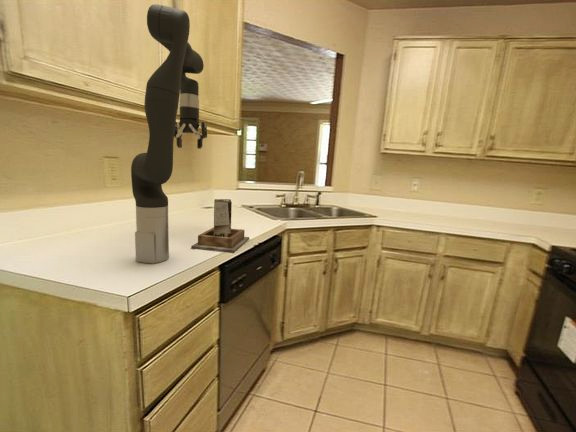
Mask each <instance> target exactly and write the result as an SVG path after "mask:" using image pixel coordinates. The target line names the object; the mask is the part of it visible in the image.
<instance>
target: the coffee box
mask: <svg viewBox="0 0 576 432" xmlns="http://www.w3.org/2000/svg"><path fill="white" fill-rule="evenodd" d="M213 204H214V205H213V227H214V236H218V237H231V229H232V205H233V202H232V199H229V198H228V199H227V198H224V199H223V198H220V199H217V198H216V199H214V203H213Z"/></svg>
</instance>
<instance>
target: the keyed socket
mask: <svg viewBox="0 0 576 432" xmlns="http://www.w3.org/2000/svg"><path fill="white" fill-rule="evenodd" d="M249 240H250V236H245V229H242V228H241V229H239V228H231V237H218V236H214V226H213V227H211V228H210V229H208V230H206V231H204V232H202V233H200V234H198V235H197V242H195V243H194V244H192V245H191V246H190V247H191V248H190V249H192V250H198V251H199V250H201V251H210V252H211V251H212V252H219V253H229V254H234V253H235V252H236V251H237V252H238V250H239V249H240V248H241V247H242V246H244V245H245V244H246V243H247V242H249Z"/></svg>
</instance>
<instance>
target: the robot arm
mask: <svg viewBox="0 0 576 432" xmlns="http://www.w3.org/2000/svg"><path fill="white" fill-rule="evenodd" d="M146 13H147V14H146V26H147V29H148V33H149V34H150V36H151V37H152V39H154V40H155V41H157V42H158V43H159V44H160V45H162V46H163V47H164V48H165V49H166V50H167V51H169V53H168V55H167V57H166V59H164V61H163V63H161V64H160V66H158V68H157V69H156V70H155V71H154V72H153V73H152V75H150V77H149V78H148V80H147V82H146V85H145V94H144V105H143V106H144V112H145V117H146V121H147V125H148V126H147V127H148V131H149V137H148V145H147V150H146V152H142V153H141V152H140V153H138V154H137V155H135V157H134V158H133V160H132V161H131V168H130V176H131V188H132V190H131V191H132V195H133V198H134V201H135V222H136V223H135V224H136V226H135V227H136V231H135V232H134V244H135V262H136V263H144V264H151V265H153V264H156V263H162V262H165V261H167V260H169V258H170V247H169V242H170V241H169V240H170V239H169V238H170V237H169V198H168V196H167V194H165V192H164V190H163V187H162V185H164V184H165V183H167V182H168V181H169V180H170V178H171V177H172V174H173V168H174V167H173V166H174V140H175V138H176V146H177V148H180V149H181V148H182V147H183V139H182V137H183V136H184V135H186V134H194V135H195V136H196V138H197V145H196V146H197V149H198V150H201V149H202V148H203V140H204V139H207V138H208V129H207V128H208V127H207V125H208V124H207V123H206V122H204V121H203V122H202V121H201V122H200V98H199V96H200V95H199V92H200V91H199V82H198V81H197V80H195V79H193V78H189V77H188V76H187V75H186V74H192V75H193V74H194V75H195V74H196V75H199V74H201V73H202V72H203V71H204V68H205V67H204V66H205V64H204V60H203V58H202V56H201V54H199V53H198V52H197V51H196V50H194V49H193V48H192V46H191V44H190V43H189V37H190V36H189V35H190V31H191V30H190V29H191V28H190V27H191V23H190V17H189V14H188V13H187V12H186V10H183V9H180V8H177V7H176V8H175V7H172V6H167V5H162V4H151V5H150V6H149V8H148V10H147V12H146ZM178 108H179V109H178ZM178 111H179V121H177V114H178ZM179 127H180V129H179ZM199 128H200V129H201V132H200V130H199ZM178 129H179V130H178ZM182 149H183V148H182Z"/></svg>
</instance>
